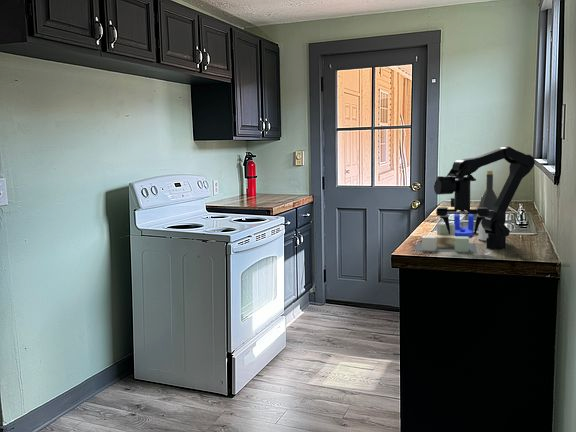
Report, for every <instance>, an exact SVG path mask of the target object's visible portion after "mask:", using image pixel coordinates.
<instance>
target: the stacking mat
mask: <svg viewBox="0 0 576 432" xmlns="http://www.w3.org/2000/svg"><path fill="white" fill-rule="evenodd" d="M449 226H450V234H449V233H448V230H447V227H446V224H445V223H436V236H437V235H455V224H454V223H449ZM413 251H414V252H423V251H422V241H417V242H416V245H415V247H414V250H413ZM425 252H428V253H429V252H430V253H435V252H436V253H457V252H456V251H455V248H443V247H436V251H425ZM460 253H464V254H465V253H466V254H467V253H468V254H470V253H471V254H477V253H478V250H477V245H476V243H475V242H469V252H459V254H460Z"/></svg>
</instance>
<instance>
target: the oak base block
mask: <svg viewBox="0 0 576 432" xmlns="http://www.w3.org/2000/svg"><path fill="white" fill-rule="evenodd" d="M436 247H443V248H455V235H437V234H436Z"/></svg>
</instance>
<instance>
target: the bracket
mask: <svg viewBox="0 0 576 432" xmlns="http://www.w3.org/2000/svg"><path fill="white" fill-rule="evenodd" d="M453 215H454V217H453V224H455V236H465V237H469V238H472V237H473V235H474V229H475V222H474V221H475V217H474V216H475V214H467V215H468V218H467V219H468V220H467V226H465V227H463V226H461V214H453ZM471 236H472V237H471Z"/></svg>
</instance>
